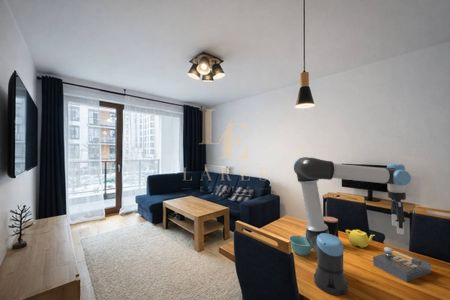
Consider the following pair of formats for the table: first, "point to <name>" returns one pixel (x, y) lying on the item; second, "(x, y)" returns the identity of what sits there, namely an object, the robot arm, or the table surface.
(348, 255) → the table surface
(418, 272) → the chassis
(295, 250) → the bowl
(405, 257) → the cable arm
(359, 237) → the teapot
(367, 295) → the table surface
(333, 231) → the coffee jar
